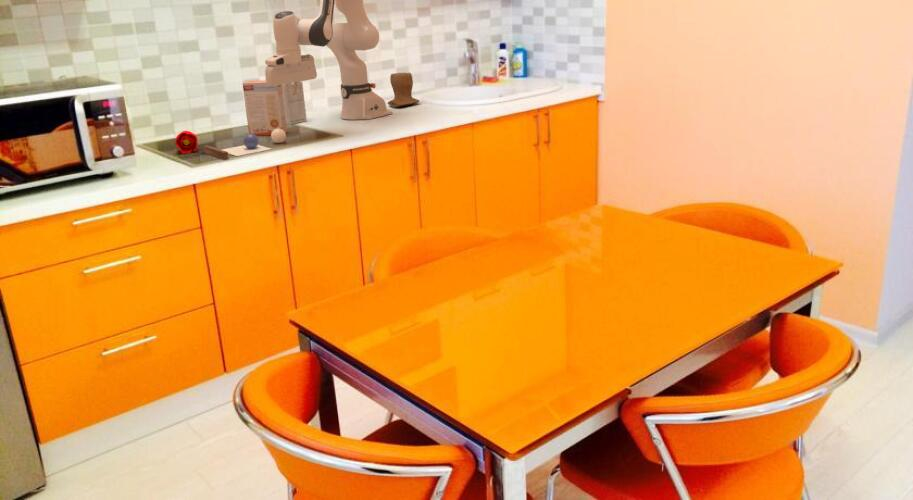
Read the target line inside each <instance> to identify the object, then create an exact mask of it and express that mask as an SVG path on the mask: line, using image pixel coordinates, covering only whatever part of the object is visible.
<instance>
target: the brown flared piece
mask: <svg viewBox="0 0 913 500" xmlns="http://www.w3.org/2000/svg"><path fill="white" fill-rule="evenodd" d="M389 77H390V78H389V79H390V80H389V81H390V84H391V87H392V90H393V91H392V92H393V94H394V98H393V99H390V100H389V101H388V102H387V104H388V106H390V107H391V108H395V109H396V108H400V107H401V108H402V107H406V106H409V105H414V104H417V103H419V102H420V100H419V99H418V98H415V97H413V95H412V93H413V92H412V91H413V87H414V86H413V85H414V81H413V75H412V73H411V72H410V71H409V72H395V73H391V74H390V76H389Z"/></svg>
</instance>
